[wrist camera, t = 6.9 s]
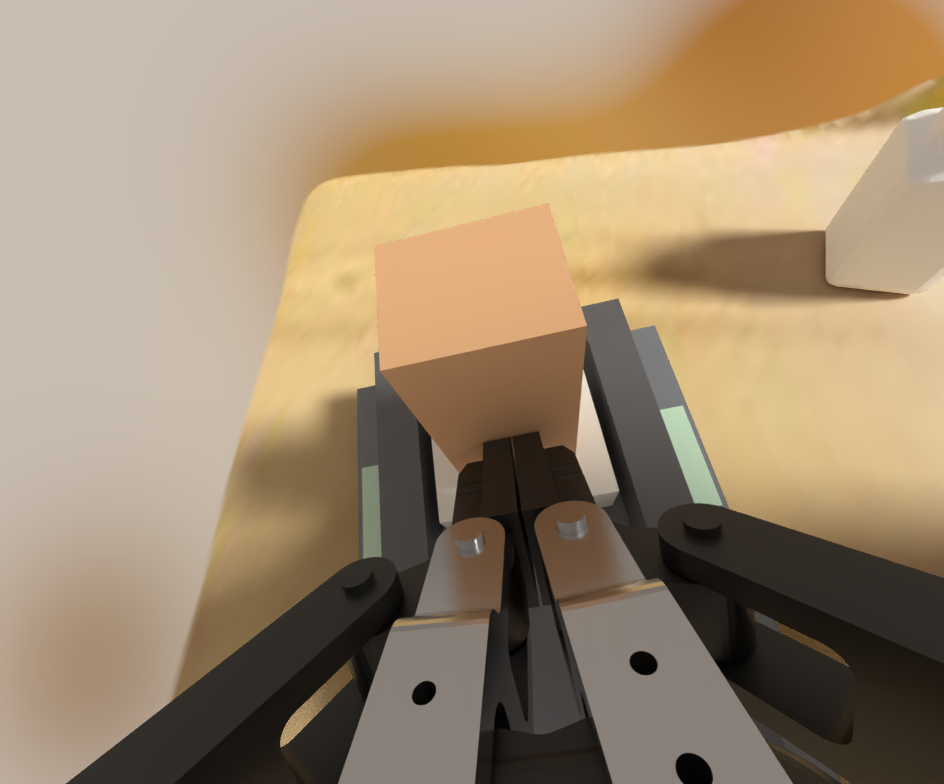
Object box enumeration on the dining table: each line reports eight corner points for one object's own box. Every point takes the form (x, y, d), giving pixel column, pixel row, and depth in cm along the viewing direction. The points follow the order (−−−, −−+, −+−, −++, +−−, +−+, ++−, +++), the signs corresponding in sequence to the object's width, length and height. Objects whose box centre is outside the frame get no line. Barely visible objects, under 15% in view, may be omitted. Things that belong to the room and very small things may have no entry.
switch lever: (612, 505, 16) (682, 361, 7) (454, 533, 17) (313, 437, 7) (578, 387, 18) (595, 155, 9) (441, 415, 19) (321, 226, 10)
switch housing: (926, 1074, 11) (1138, 1348, 7) (395, 1093, 12) (314, 1330, 8) (647, 349, 21) (666, 287, 17) (373, 406, 23) (332, 362, 18)
